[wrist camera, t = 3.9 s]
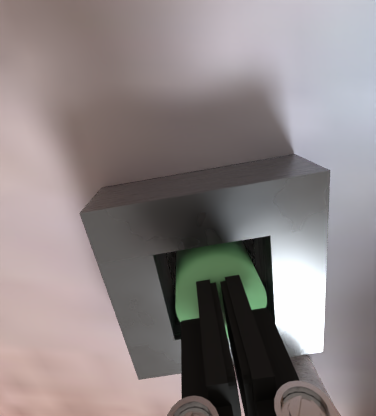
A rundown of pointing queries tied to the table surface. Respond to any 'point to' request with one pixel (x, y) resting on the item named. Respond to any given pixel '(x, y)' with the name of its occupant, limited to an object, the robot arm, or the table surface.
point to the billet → (307, 372)
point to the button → (215, 276)
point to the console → (211, 235)
